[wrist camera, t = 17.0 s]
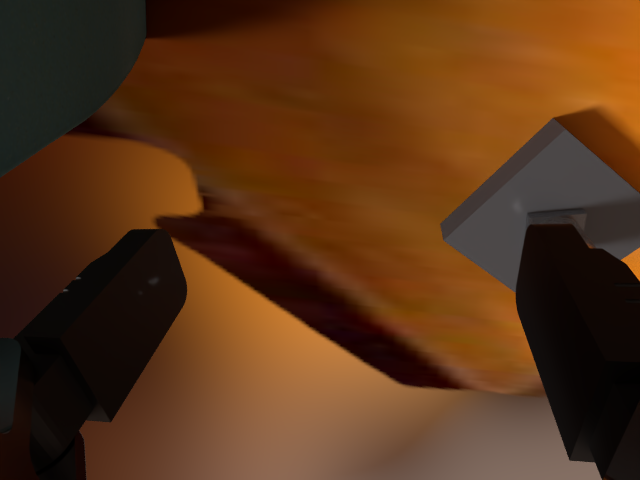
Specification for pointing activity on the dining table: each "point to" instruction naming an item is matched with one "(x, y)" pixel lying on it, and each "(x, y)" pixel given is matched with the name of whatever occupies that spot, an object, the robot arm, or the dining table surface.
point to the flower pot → (60, 66)
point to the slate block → (544, 203)
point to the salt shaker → (561, 220)
